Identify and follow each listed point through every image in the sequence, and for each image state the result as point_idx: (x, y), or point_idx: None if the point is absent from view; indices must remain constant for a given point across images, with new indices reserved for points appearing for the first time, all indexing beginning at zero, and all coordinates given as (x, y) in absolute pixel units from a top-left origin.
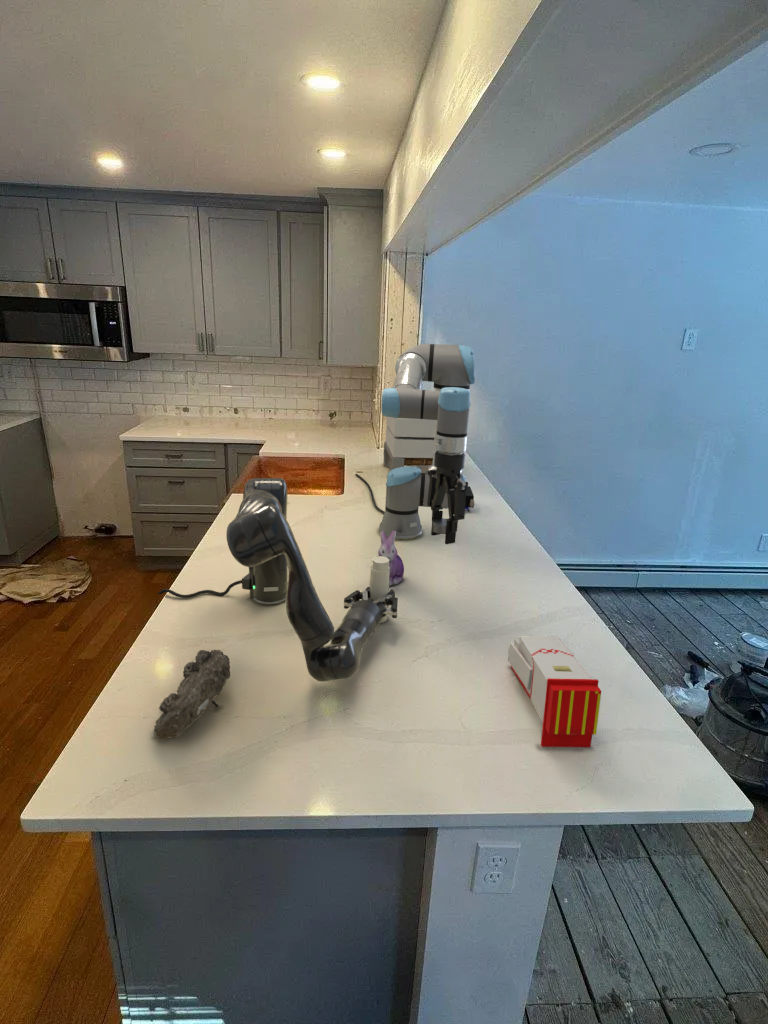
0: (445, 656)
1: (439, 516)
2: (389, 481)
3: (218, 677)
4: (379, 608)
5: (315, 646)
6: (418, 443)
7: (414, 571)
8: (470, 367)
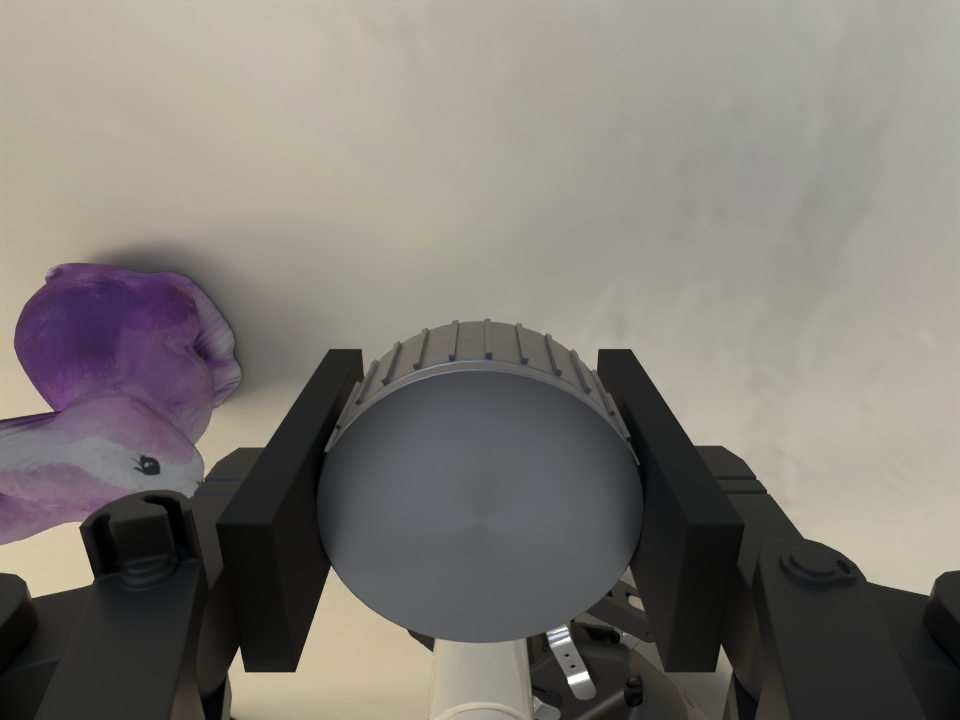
0: (828, 451)
1: (306, 521)
2: None
3: None
4: (616, 677)
5: None
6: None
7: (98, 151)
8: None
